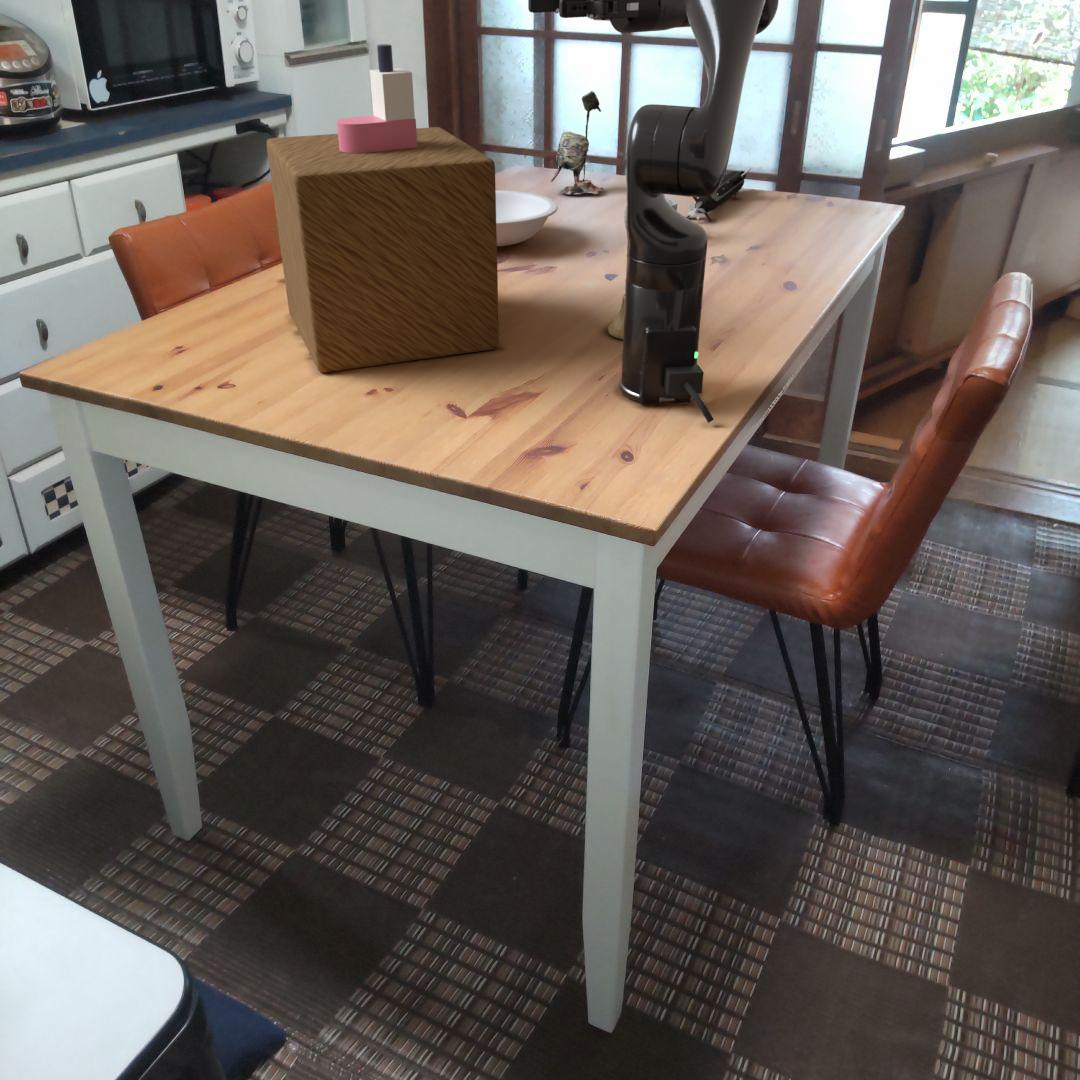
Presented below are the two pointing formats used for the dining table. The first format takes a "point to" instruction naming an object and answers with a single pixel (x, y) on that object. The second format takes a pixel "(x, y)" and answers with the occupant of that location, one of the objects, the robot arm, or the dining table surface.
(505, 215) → the soup bowl
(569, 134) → the bird figurine
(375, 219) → the wood block
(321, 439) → the dining table surface
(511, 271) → the dining table surface
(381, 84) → the block stack
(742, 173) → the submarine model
